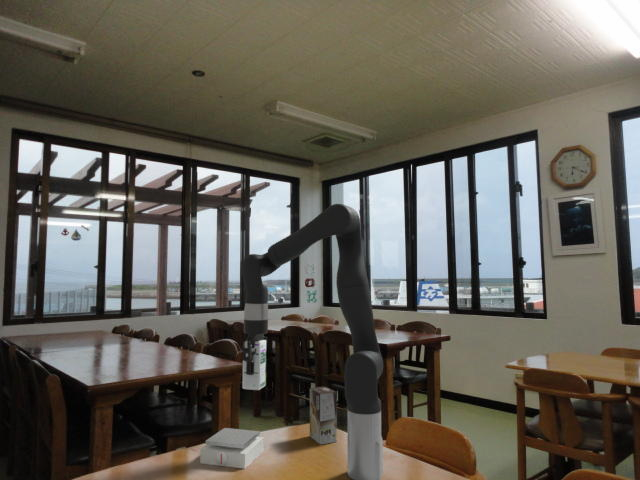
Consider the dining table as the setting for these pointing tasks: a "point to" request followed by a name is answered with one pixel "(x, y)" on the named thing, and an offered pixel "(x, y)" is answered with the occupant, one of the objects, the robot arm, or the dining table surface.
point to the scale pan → (233, 438)
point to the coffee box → (323, 415)
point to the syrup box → (256, 368)
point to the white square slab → (232, 454)
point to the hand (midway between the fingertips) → (254, 372)
